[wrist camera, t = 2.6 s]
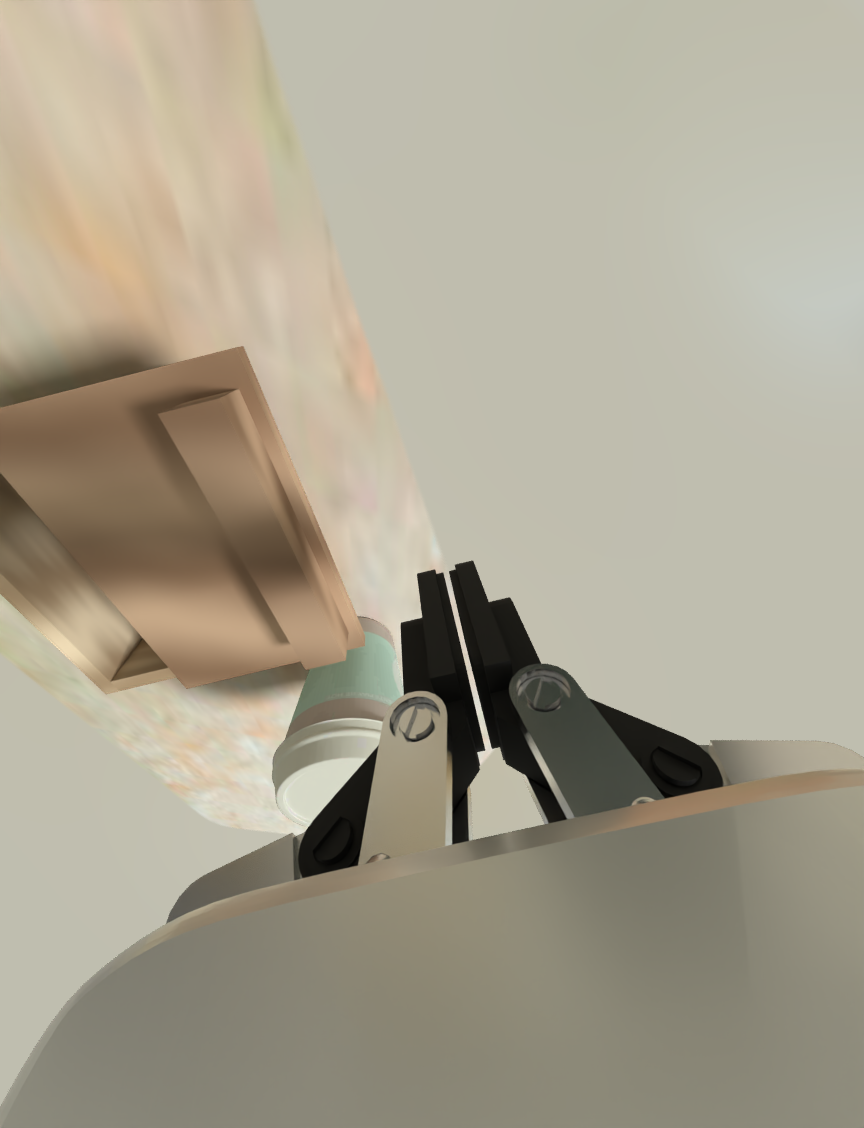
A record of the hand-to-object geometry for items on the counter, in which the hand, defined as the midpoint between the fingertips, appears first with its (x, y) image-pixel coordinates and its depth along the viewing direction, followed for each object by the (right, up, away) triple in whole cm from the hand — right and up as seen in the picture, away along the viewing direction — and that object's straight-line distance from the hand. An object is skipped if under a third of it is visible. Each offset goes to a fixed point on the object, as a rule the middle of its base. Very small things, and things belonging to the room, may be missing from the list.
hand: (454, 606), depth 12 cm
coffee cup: (-7, -5, +20) cm, 22 cm away
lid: (-11, +2, +6) cm, 12 cm away
